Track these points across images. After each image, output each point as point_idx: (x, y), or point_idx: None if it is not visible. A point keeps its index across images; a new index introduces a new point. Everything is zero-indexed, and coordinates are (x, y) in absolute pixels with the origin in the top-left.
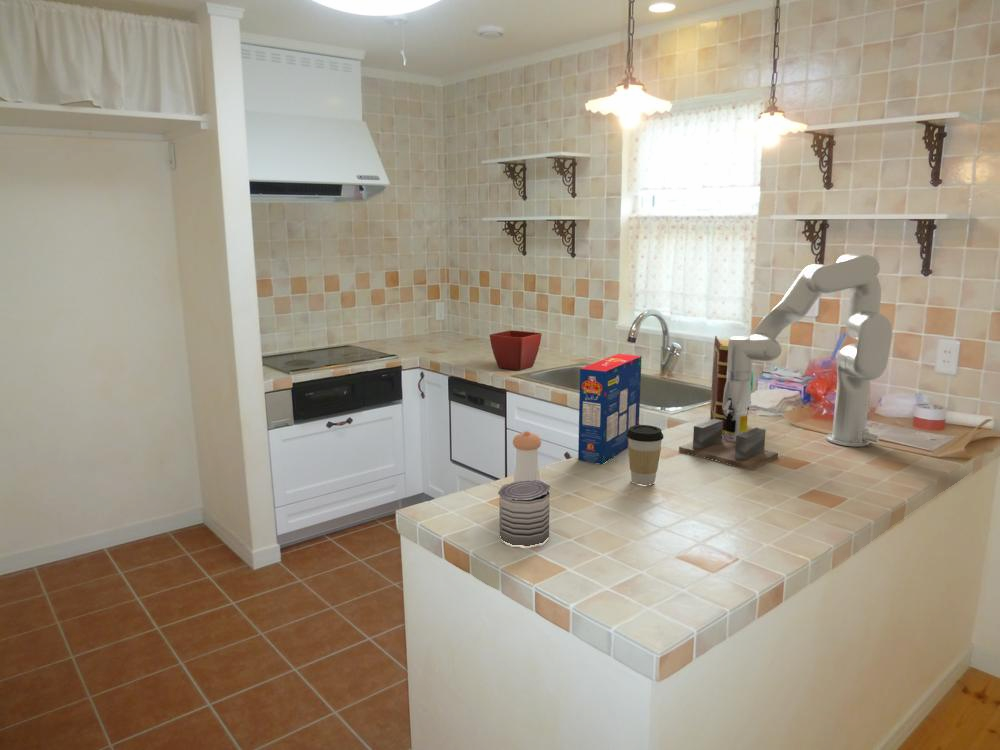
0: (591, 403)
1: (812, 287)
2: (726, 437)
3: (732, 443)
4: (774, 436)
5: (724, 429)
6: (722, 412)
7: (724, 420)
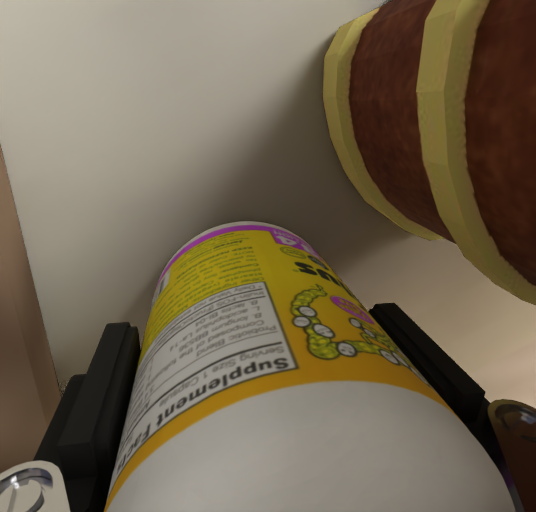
0: None
1: None
2: (161, 275)
3: (9, 422)
4: (489, 394)
5: (360, 144)
6: (509, 115)
7: (414, 150)
